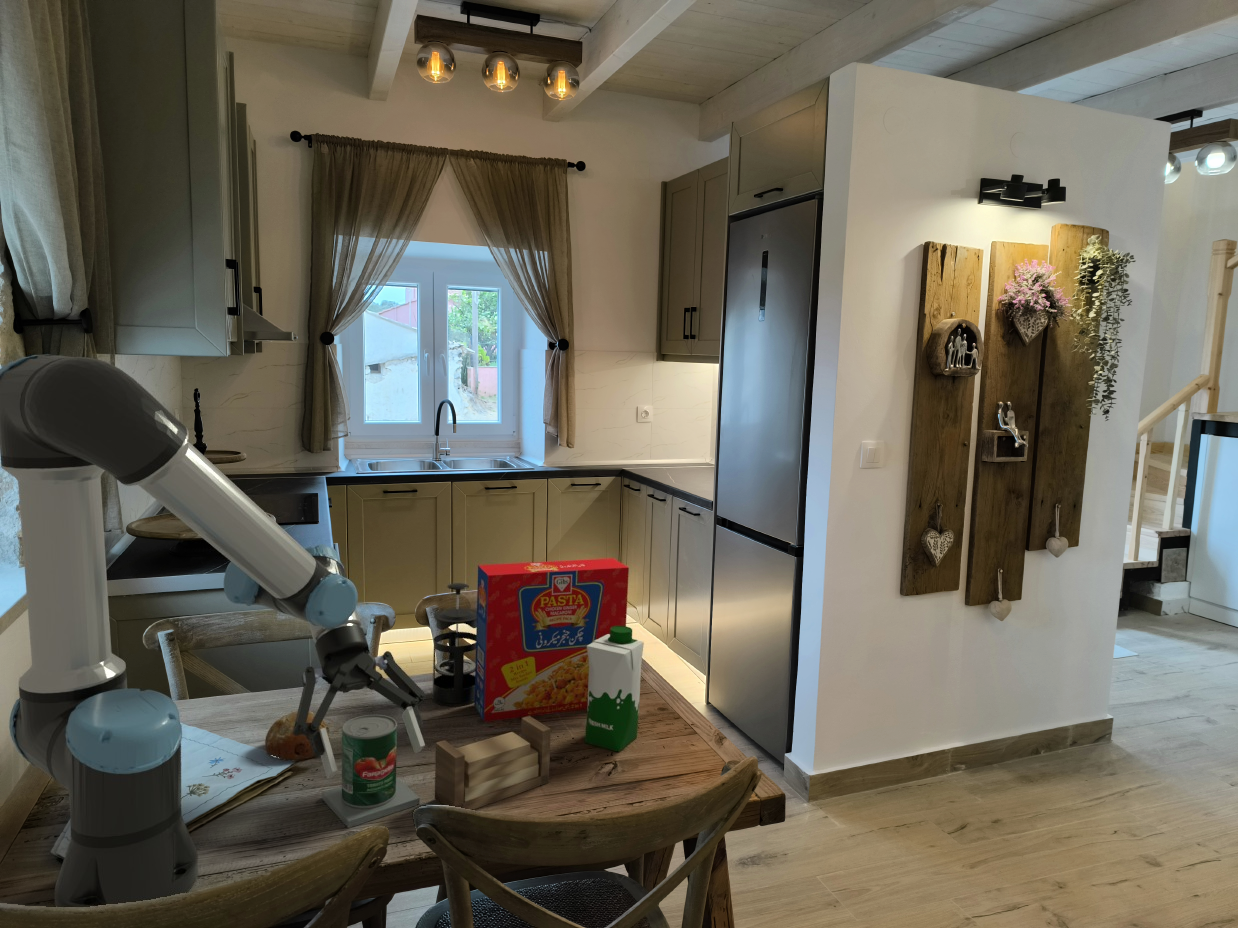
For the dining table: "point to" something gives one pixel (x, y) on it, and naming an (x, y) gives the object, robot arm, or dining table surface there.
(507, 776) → the offcut stack
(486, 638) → the pasta box
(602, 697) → the milk carton
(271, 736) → the bread roll
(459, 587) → the french press
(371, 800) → the canned tomato
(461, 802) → the walnut rack
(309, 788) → the dining table surface
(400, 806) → the grey tile
